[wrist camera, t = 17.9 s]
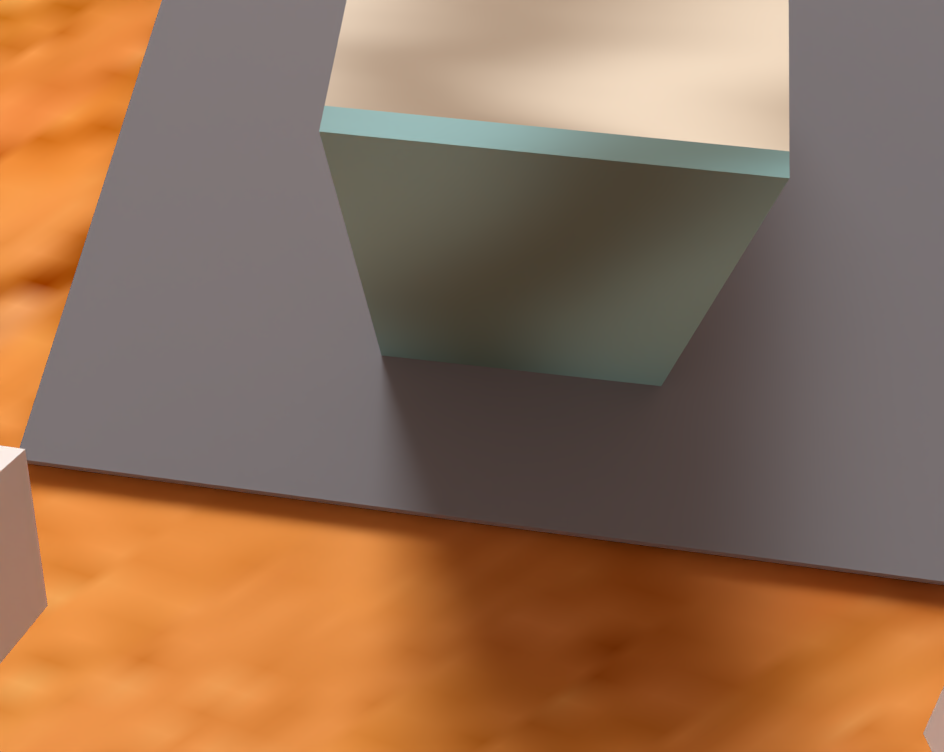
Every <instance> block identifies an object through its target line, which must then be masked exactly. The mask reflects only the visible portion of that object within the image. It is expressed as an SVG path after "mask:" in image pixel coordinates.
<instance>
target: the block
mask: <svg viewBox="0 0 944 752" xmlns="http://www.w3.org/2000/svg"><path fill="white" fill-rule="evenodd" d="M319 133H320V137H321V140H322V144H323V147H324V151H325V155H326V158H327V162H328V165H329V169H330V172H331V176H332V180H333V183H334V187H335V190H336V194H337V198H338V201H339V205H340V208H341V212H342V216H343V219H344V223H345V226H346V230H347V233H348V237H349V241H350V244H351V248H352V251H353V255H354V259H355V262H356V266H357V269H358V273H359V277H360V280H361V284H362V287H363V291H364V294H365V298H366V302H367V305H368V309H369V312H370V316H371V320H372V323H373V327H374V330H375V334H376V338H377V341H378V345H379V348H380V352H381V355H382V356H392V357H401V358H410V359H419V360H428V361H437V362H446V363H455V364H464V365H473V366H482V367H491V368H501V369H510V370H519V371H528V372H537V373H546V374H555V375H564V376H573V377H582V378H591V379H600V380H610V381H619V382H628V383H637V384H646V385H655V386H662V384H663V382H664V381H665V379H666V378H667V376H668V374H669V373H670V371H671V370H672V368H673V366H674V365H675V363H676V361H677V360H678V358H679V357H680V355H681V353H682V352H683V350H684V348H685V347H686V345H687V344H688V342H689V340H690V339H691V337H692V336H693V334H694V332H695V331H696V329H697V327H698V326H699V324H700V323H701V321H702V319H703V318H704V316H705V314H706V313H707V311H708V310H709V308H710V306H711V305H712V303H713V302H714V300H715V298H716V297H717V295H718V293H719V292H720V290H721V289H722V287H723V285H724V284H725V282H726V280H727V279H728V277H729V276H730V274H731V272H732V271H733V269H734V267H735V266H736V264H737V263H738V261H739V259H740V258H741V256H742V255H743V253H744V251H745V250H746V248H747V246H748V245H749V243H750V242H751V240H752V238H753V237H754V235H755V233H756V232H757V230H758V229H759V227H760V225H761V224H762V222H763V221H764V219H765V217H766V216H767V214H768V212H769V211H770V209H771V208H772V206H773V204H774V203H775V201H776V199H777V198H778V196H779V195H780V193H781V191H782V190H783V188H784V186H785V185H786V183H787V182H788V180H789V178H790V167H789V0H347V1H346V6H345V10H344V15H343V20H342V25H341V29H340V34H339V39H338V44H337V48H336V53H335V58H334V63H333V68H332V72H331V77H330V82H329V87H328V91H327V96H326V101H325V106H324V110H323V115H322V120H321V125H320V129H319Z"/></svg>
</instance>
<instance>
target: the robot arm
mask: <svg viewBox="0 0 944 752" xmlns="http://www.w3.org/2000/svg"><path fill="white" fill-rule="evenodd" d="M46 607H47V598H46V591H45V584H44V577H43V570H42V563H41V556H40V549H39V542H38V535H37V528H36V521H35V514H34V507H33V500H32V493H31V486H30V479H29V471H28V464H27V457H26V450H25V449H21V448H13V447H6V446H0V663H1V662H2V661H3V659H4V658H5V657H6V656H7V655H8V653H9V652H10V651H11V650H12V648H13V647H14V646H15V645H16V644H17V642H18V641H19V640H20V639H21V637H22V636H23V635H24V634H25V633H26V631H27V630H28V629H29V628H30V626H31V625H32V624H33V623H34V622H35V620H36V619H37V618H38V617H39V615H40V614H41V613H42V612H43V610H44V609H45V608H46ZM923 734H924V736H925V738H926V740H927V742H928V744H929V747H930V749H931V751H932V752H944V687H943V690H942V692H941V694H940V696H939V699H938V701H937V703H936V706H935V708H934V710H933V712H932V715H931V717H930V719H929V721H928V724H927V726H926V728H925V731H924V733H923Z"/></svg>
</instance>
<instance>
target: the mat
mask: <svg viewBox="0 0 944 752" xmlns="http://www.w3.org/2000/svg"><path fill="white" fill-rule="evenodd" d="M346 1H347V0H162V2H161V5H160V8H159V12H158V15H157V18H156V21H155V24H154V27H153V30H152V34H151V37H150V40H149V43H148V46H147V49H146V52H145V56H144V59H143V62H142V65H141V68H140V71H139V74H138V78H137V81H136V84H135V87H134V90H133V93H132V96H131V100H130V103H129V106H128V109H127V112H126V115H125V118H124V122H123V125H122V128H121V131H120V134H119V137H118V140H117V144H116V147H115V150H114V153H113V156H112V159H111V162H110V166H109V169H108V172H107V175H106V178H105V181H104V184H103V188H102V191H101V194H100V197H99V200H98V203H97V206H96V210H95V213H94V216H93V219H92V222H91V225H90V228H89V232H88V235H87V238H86V241H85V244H84V247H83V250H82V253H81V257H80V260H79V263H78V266H77V269H76V272H75V275H74V279H73V282H72V285H71V288H70V291H69V294H68V297H67V301H66V304H65V307H64V310H63V313H62V316H61V319H60V323H59V326H58V329H57V332H56V335H55V338H54V341H53V345H52V348H51V351H50V354H49V357H48V360H47V363H46V367H45V370H44V373H43V376H42V379H41V382H40V385H39V389H38V392H37V395H36V398H35V401H34V404H33V407H32V411H31V414H30V417H29V420H28V423H27V426H26V429H25V433H24V436H23V439H22V442H21V445H20V448H21V449H25V450H26V457H27V464H34V465H42V466H49V467H57V468H64V469H72V470H79V471H87V472H94V473H102V474H109V475H117V476H125V477H132V478H140V479H147V480H155V481H162V482H170V483H177V484H185V485H192V486H200V487H207V488H215V489H223V490H230V491H238V492H245V493H253V494H260V495H268V496H275V497H283V498H290V499H298V500H305V501H313V502H320V503H328V504H336V505H343V506H351V507H358V508H366V509H373V510H381V511H388V512H396V513H403V514H411V515H418V516H426V517H433V518H441V519H449V520H456V521H464V522H471V523H479V524H486V525H494V526H501V527H509V528H516V529H524V530H531V531H539V532H547V533H554V534H562V535H569V536H577V537H584V538H592V539H599V540H607V541H614V542H622V543H629V544H637V545H644V546H652V547H660V548H667V549H675V550H682V551H690V552H697V553H705V554H712V555H720V556H727V557H735V558H742V559H750V560H757V561H765V562H773V563H780V564H788V565H795V566H803V567H810V568H818V569H825V570H833V571H840V572H848V573H855V574H863V575H870V576H878V577H886V578H893V579H901V580H908V581H916V582H923V583H931V584H938V585H944V0H789V167H790V178H789V180H788V182H787V183H786V185H785V186H784V188H783V190H782V191H781V193H780V195H779V196H778V198H777V199H776V201H775V203H774V204H773V206H772V208H771V209H770V211H769V212H768V214H767V216H766V217H765V219H764V221H763V222H762V224H761V225H760V227H759V229H758V230H757V232H756V233H755V235H754V237H753V238H752V240H751V242H750V243H749V245H748V246H747V248H746V250H745V251H744V253H743V255H742V256H741V258H740V259H739V261H738V263H737V264H736V266H735V267H734V269H733V271H732V272H731V274H730V276H729V277H728V279H727V280H726V282H725V284H724V285H723V287H722V289H721V290H720V292H719V293H718V295H717V297H716V298H715V300H714V302H713V303H712V305H711V306H710V308H709V310H708V311H707V313H706V314H705V316H704V318H703V319H702V321H701V323H700V324H699V326H698V327H697V329H696V331H695V332H694V334H693V336H692V337H691V339H690V340H689V342H688V344H687V345H686V347H685V348H684V350H683V352H682V353H681V355H680V357H679V358H678V360H677V361H676V363H675V365H674V366H673V368H672V370H671V371H670V373H669V374H668V376H667V378H666V379H665V381H664V382H663V384H662V386H655V385H646V384H637V383H628V382H619V381H610V380H600V379H591V378H582V377H573V376H564V375H555V374H546V373H537V372H528V371H519V370H510V369H501V368H491V367H482V366H473V365H464V364H455V363H446V362H437V361H428V360H419V359H410V358H401V357H392V356H382V355H381V352H380V348H379V345H378V341H377V338H376V334H375V330H374V327H373V323H372V320H371V316H370V312H369V309H368V305H367V302H366V298H365V294H364V291H363V287H362V284H361V280H360V277H359V273H358V269H357V266H356V262H355V259H354V255H353V251H352V248H351V244H350V241H349V237H348V233H347V230H346V226H345V223H344V219H343V216H342V212H341V208H340V205H339V201H338V198H337V194H336V190H335V187H334V183H333V180H332V176H331V172H330V169H329V165H328V162H327V158H326V155H325V151H324V147H323V144H322V140H321V137H320V133H319V129H320V125H321V120H322V115H323V110H324V106H325V101H326V96H327V91H328V87H329V82H330V77H331V72H332V68H333V63H334V58H335V53H336V48H337V44H338V39H339V34H340V29H341V25H342V20H343V15H344V10H345V6H346Z"/></svg>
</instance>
